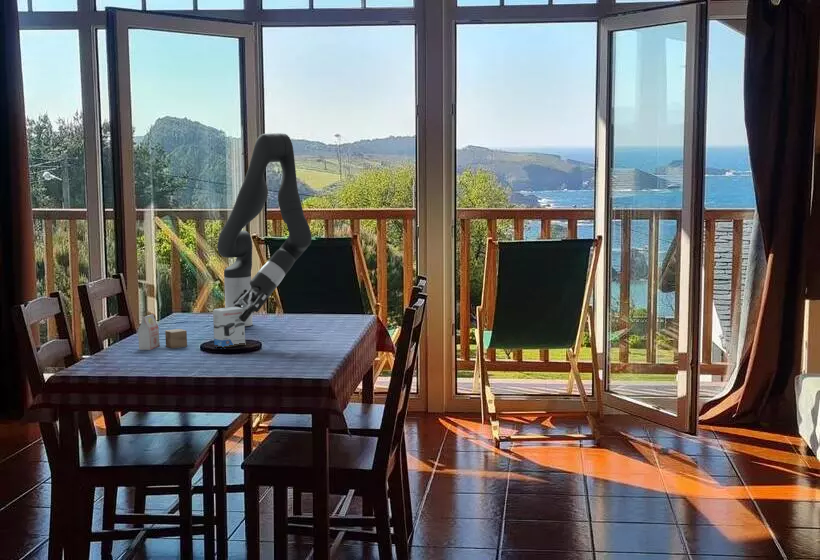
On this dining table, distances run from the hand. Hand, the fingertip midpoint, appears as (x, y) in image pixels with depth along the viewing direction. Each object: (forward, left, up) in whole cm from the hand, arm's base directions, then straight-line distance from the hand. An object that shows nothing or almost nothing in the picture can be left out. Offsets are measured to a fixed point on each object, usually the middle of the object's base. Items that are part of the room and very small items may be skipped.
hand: (235, 318), depth 297 cm
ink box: (0, -2, -9) cm, 9 cm away
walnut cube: (-11, -15, -8) cm, 21 cm away
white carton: (-14, -23, -9) cm, 28 cm away
